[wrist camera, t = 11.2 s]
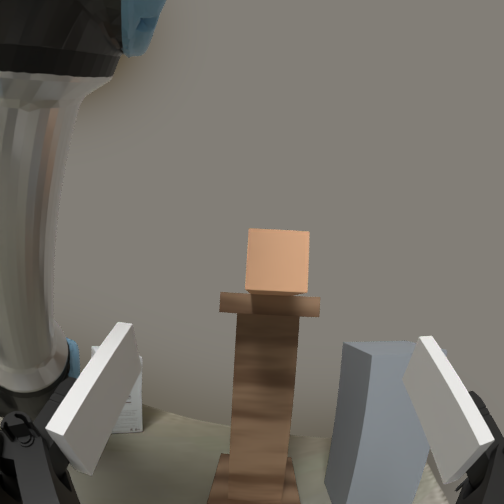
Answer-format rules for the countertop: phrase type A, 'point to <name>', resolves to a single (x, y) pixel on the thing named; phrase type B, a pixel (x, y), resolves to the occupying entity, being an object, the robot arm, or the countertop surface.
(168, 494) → the countertop surface
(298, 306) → the stand
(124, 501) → the countertop surface
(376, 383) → the slate block
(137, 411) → the supplement box
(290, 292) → the rod
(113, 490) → the countertop surface
